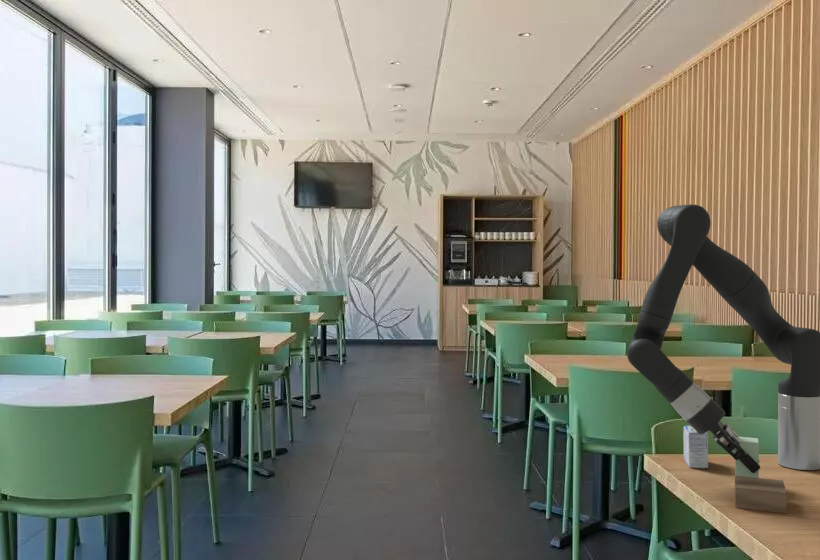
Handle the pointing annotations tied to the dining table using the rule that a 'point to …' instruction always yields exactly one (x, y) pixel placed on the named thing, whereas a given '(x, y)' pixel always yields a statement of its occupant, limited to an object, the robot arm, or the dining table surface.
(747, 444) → the sage block
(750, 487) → the walnut plinth
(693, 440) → the medicine box
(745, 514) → the dining table surface
